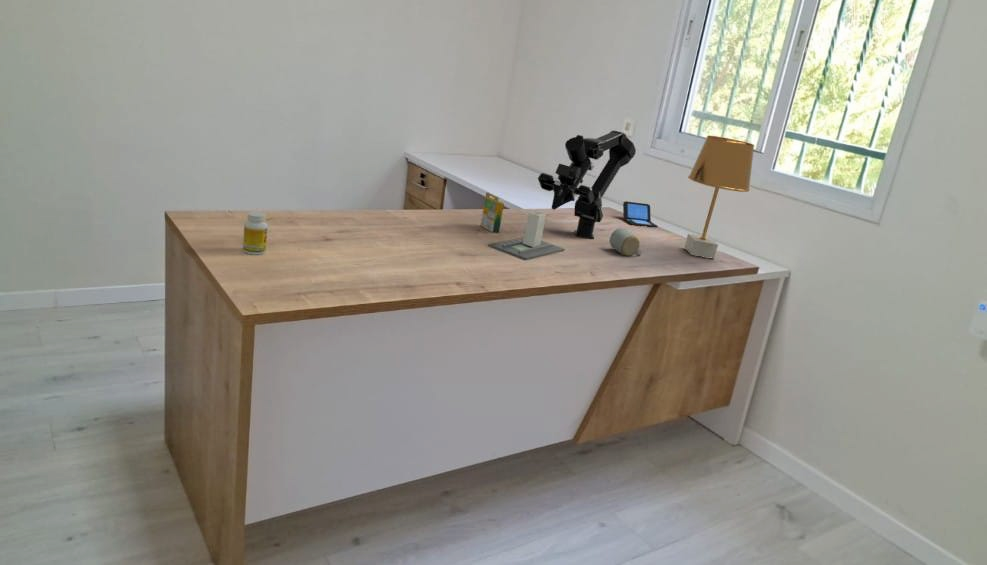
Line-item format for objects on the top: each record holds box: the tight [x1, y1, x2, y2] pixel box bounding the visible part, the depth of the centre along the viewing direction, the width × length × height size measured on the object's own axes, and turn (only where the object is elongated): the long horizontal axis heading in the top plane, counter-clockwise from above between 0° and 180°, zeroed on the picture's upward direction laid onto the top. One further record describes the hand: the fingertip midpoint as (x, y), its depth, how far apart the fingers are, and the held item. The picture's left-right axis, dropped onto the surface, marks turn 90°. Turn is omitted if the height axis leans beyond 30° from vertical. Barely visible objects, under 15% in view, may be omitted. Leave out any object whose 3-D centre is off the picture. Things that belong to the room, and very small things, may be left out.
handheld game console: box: [622, 200, 659, 228], centre depth 278 cm, size 12×11×7 cm
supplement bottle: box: [242, 211, 268, 256], centre depth 167 cm, size 5×5×10 cm
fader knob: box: [523, 211, 547, 247], centre depth 214 cm, size 4×4×10 cm
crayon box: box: [480, 191, 505, 233], centre depth 227 cm, size 7×3×12 cm, turn 34°
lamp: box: [684, 135, 755, 259], centre depth 240 cm, size 21×21×41 cm
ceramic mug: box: [609, 227, 643, 257], centre depth 229 cm, size 11×8×8 cm
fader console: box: [487, 236, 566, 261], centre depth 214 cm, size 22×14×1 cm, turn 143°
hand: (552, 208), depth 218 cm, fingers closed
